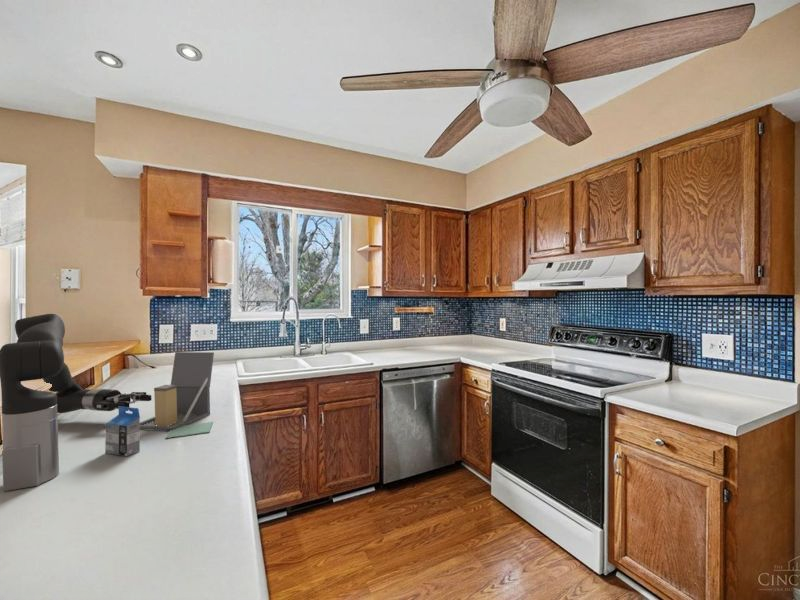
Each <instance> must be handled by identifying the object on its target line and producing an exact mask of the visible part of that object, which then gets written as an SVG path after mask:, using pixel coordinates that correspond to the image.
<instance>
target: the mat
mask: <svg viewBox="0 0 800 600" xmlns="http://www.w3.org/2000/svg"><path fill="white" fill-rule="evenodd" d="M213 423H214V421H207V422H199V423H191V424H188V425H184V426H181V427H179V428H176V429H174V430H170V431H168V433H167V435H166V437H165V439H166V438H169V439H172V438H171V437H176V438H179V437H178V436H183V437H187V436H186V435H190V436H194V435H195V434H197V435H201V434H202V435H203V434H209V433H211V430H212V427H213V425H214V424H213Z"/></svg>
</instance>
